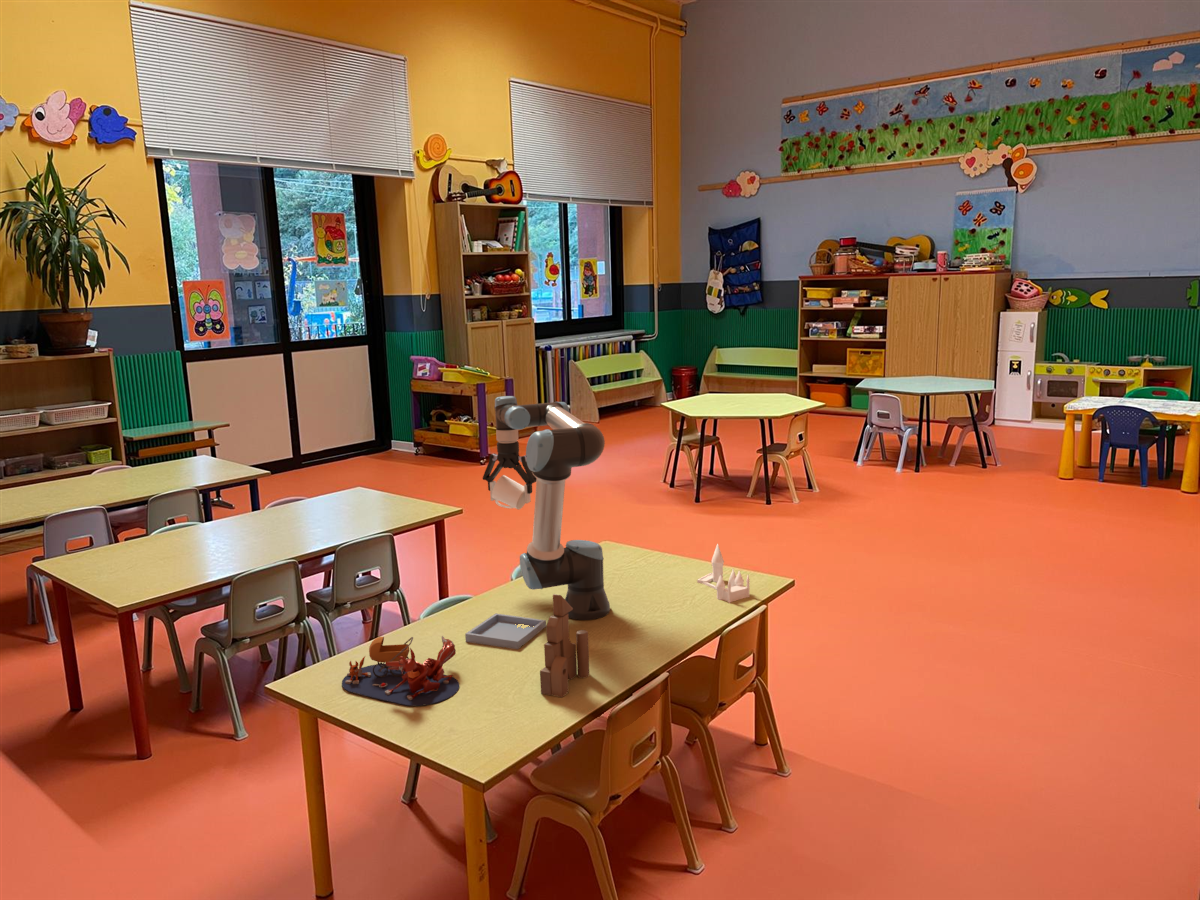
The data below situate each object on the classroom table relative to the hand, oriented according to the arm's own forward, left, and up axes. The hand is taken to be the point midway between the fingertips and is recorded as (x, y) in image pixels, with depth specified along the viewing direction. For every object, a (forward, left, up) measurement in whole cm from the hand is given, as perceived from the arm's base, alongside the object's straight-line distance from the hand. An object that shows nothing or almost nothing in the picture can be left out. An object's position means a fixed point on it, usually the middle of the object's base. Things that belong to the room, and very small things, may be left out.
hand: (510, 501), depth 309 cm
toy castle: (-70, -18, -32) cm, 79 cm away
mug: (-5, -1, 0) cm, 5 cm away
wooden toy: (-51, +63, -32) cm, 88 cm away
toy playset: (-9, +75, -32) cm, 82 cm away
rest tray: (-19, +39, -32) cm, 54 cm away
